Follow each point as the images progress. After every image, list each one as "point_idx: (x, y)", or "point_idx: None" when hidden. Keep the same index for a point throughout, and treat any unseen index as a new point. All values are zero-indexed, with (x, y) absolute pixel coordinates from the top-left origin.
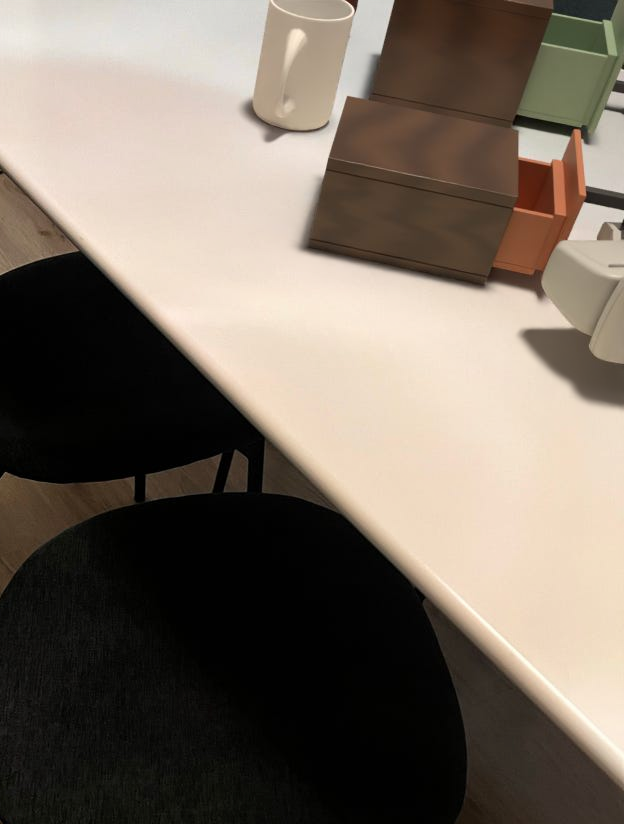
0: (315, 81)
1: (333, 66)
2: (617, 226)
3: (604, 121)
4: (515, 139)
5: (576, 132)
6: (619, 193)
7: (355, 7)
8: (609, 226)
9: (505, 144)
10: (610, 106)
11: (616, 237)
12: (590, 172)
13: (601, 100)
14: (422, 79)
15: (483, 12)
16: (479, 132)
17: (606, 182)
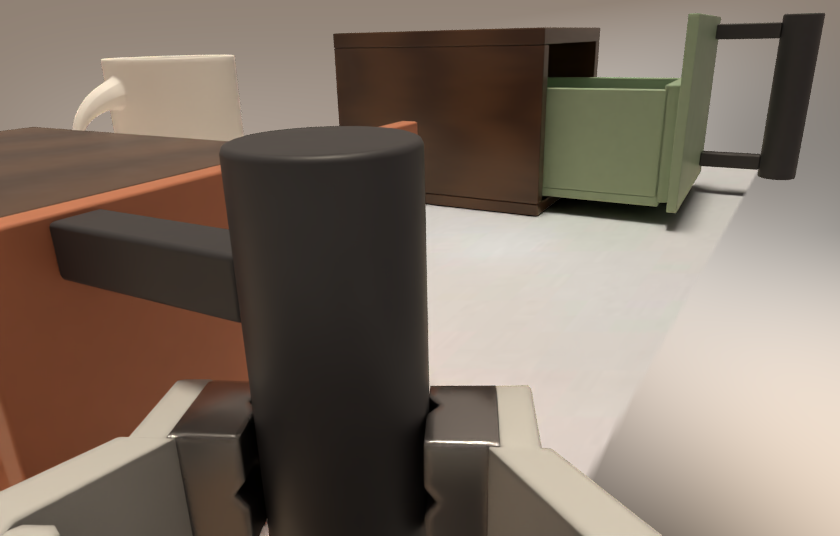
0: None
1: (187, 128)
2: (197, 407)
3: (721, 205)
4: None
5: (394, 123)
6: (209, 231)
7: None
8: (156, 406)
9: (191, 162)
10: (740, 191)
11: (10, 499)
12: (650, 267)
13: (672, 157)
14: None
15: (447, 53)
16: (177, 150)
17: (678, 283)
